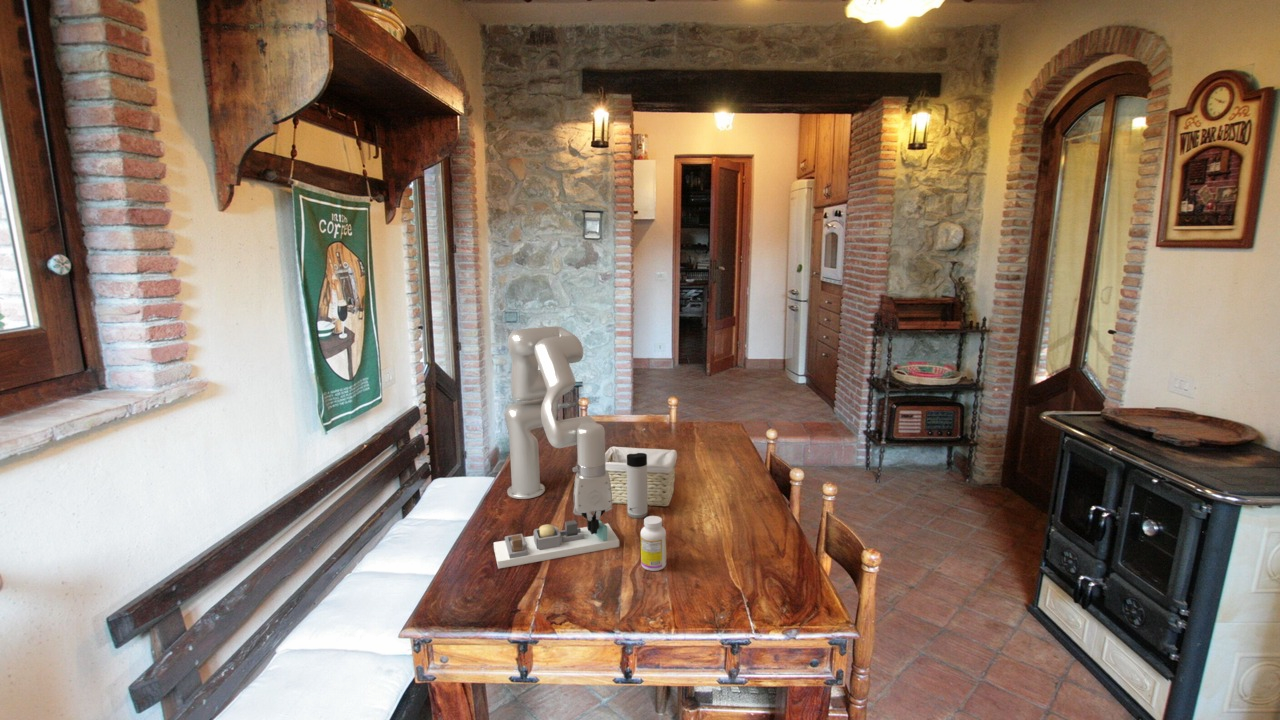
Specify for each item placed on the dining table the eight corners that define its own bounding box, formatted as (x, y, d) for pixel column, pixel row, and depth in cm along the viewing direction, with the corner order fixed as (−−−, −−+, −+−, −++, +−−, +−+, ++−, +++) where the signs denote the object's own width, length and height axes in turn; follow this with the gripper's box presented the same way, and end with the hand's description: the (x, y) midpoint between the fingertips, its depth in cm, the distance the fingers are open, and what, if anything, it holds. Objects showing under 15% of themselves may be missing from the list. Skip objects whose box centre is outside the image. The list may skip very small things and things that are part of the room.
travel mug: (630, 520, 181) (629, 458, 178) (625, 511, 188) (624, 450, 184) (650, 517, 183) (649, 455, 179) (644, 508, 189) (643, 448, 186)
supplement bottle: (651, 556, 160) (651, 511, 158) (671, 564, 156) (671, 518, 154) (635, 566, 155) (635, 520, 153) (655, 575, 151) (655, 527, 148)
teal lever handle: (586, 529, 171) (586, 516, 170) (594, 527, 172) (593, 514, 171) (601, 541, 164) (601, 528, 163) (609, 539, 165) (608, 525, 164)
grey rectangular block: (565, 534, 168) (564, 521, 167) (575, 533, 169) (575, 520, 168) (567, 538, 165) (566, 525, 165) (577, 536, 166) (577, 523, 166)
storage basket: (598, 504, 193) (597, 461, 191) (610, 485, 209) (609, 445, 206) (670, 510, 188) (670, 465, 186) (678, 490, 204) (678, 449, 201)
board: (493, 549, 165) (492, 527, 164) (608, 529, 176) (607, 509, 174) (498, 568, 155) (496, 545, 153) (619, 546, 165) (618, 525, 164)
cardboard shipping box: (512, 549, 160) (511, 535, 159) (521, 548, 160) (520, 534, 160) (513, 555, 157) (513, 541, 156) (522, 553, 158) (522, 539, 157)
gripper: (567, 477, 155) (569, 542, 159) (622, 470, 160) (622, 533, 163) (562, 467, 162) (564, 529, 166) (614, 461, 167) (615, 522, 170)
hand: (593, 531), depth 165 cm, fingers closed
